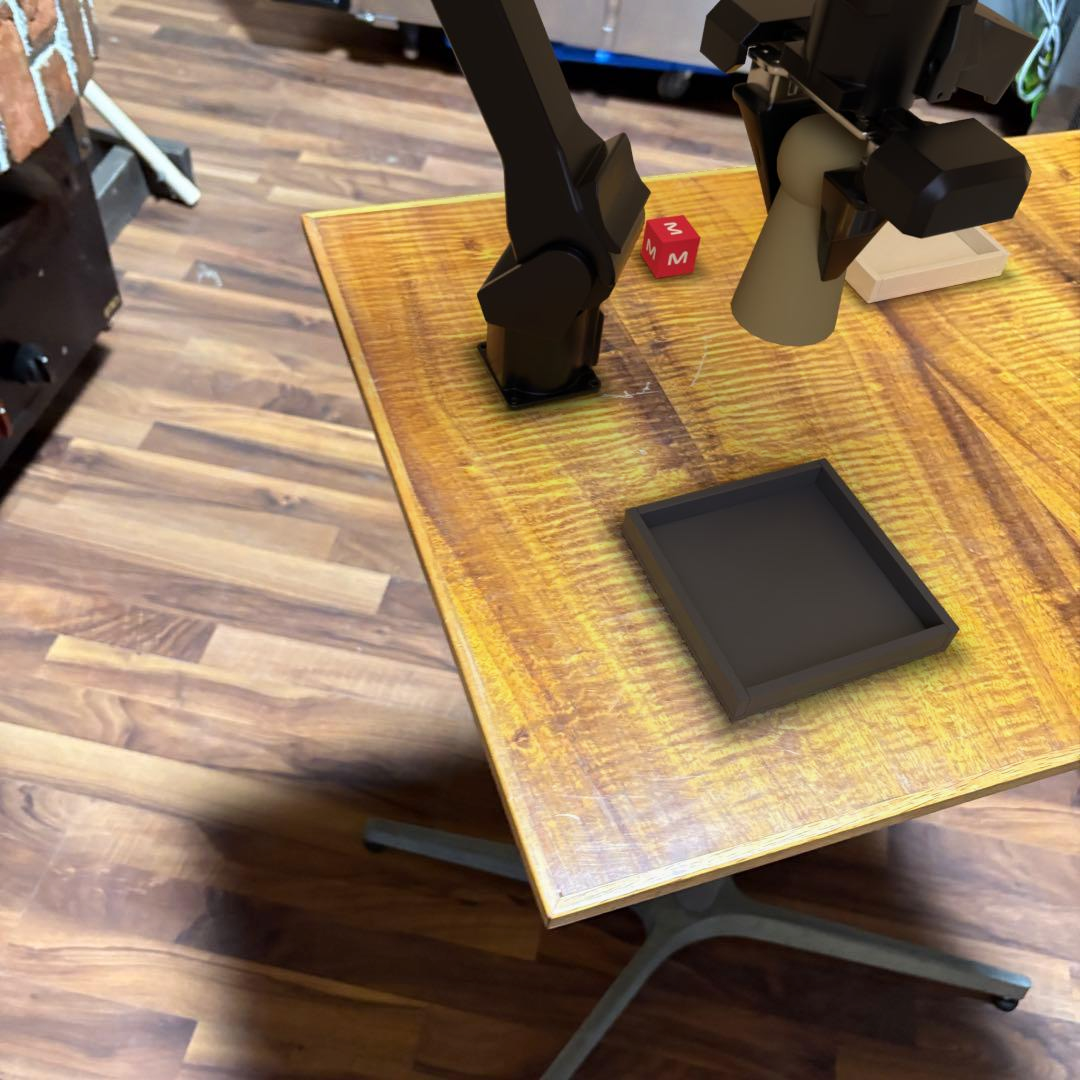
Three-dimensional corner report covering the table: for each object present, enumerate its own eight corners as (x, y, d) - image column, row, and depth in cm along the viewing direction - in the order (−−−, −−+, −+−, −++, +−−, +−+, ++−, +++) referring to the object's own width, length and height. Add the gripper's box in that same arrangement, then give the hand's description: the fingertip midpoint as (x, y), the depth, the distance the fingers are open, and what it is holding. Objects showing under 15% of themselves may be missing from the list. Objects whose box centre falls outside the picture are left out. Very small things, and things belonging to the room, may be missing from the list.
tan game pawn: (837, 354, 56) (907, 168, 47) (727, 336, 56) (778, 148, 48) (835, 290, 60) (899, 107, 51) (732, 273, 60) (779, 89, 52)
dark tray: (731, 722, 51) (740, 701, 49) (620, 531, 59) (625, 508, 57) (946, 650, 55) (960, 628, 53) (816, 480, 62) (825, 457, 61)
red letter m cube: (693, 272, 76) (700, 237, 73) (656, 278, 75) (662, 242, 73) (676, 249, 77) (683, 214, 75) (640, 255, 77) (646, 219, 74)
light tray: (867, 303, 75) (876, 280, 73) (795, 227, 81) (802, 204, 79) (1000, 275, 78) (1011, 253, 77) (922, 204, 84) (931, 182, 83)
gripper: (1208, 9, 40) (1035, 327, 52) (917, -148, 51) (829, 146, 63) (989, 42, 37) (857, 375, 49) (726, -133, 48) (671, 174, 59)
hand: (803, 254), depth 55 cm, fingers closed on tan game pawn, 4 cm apart
